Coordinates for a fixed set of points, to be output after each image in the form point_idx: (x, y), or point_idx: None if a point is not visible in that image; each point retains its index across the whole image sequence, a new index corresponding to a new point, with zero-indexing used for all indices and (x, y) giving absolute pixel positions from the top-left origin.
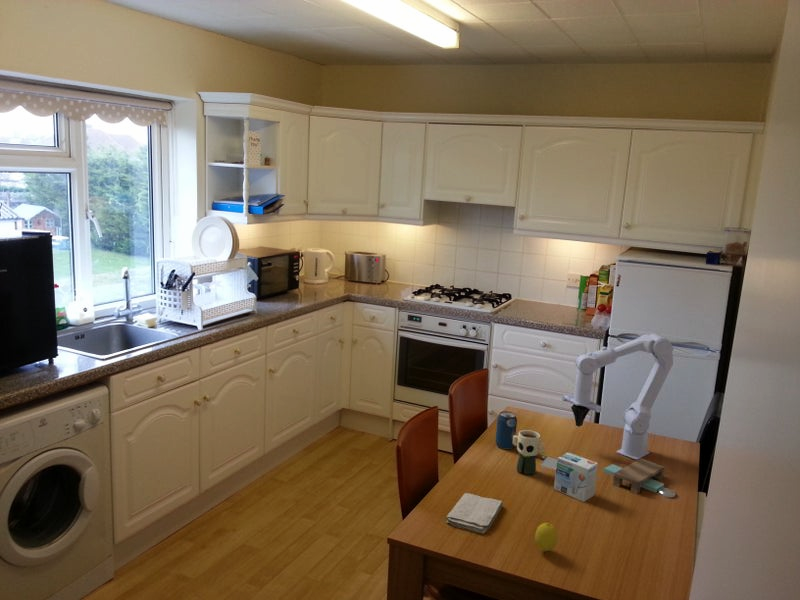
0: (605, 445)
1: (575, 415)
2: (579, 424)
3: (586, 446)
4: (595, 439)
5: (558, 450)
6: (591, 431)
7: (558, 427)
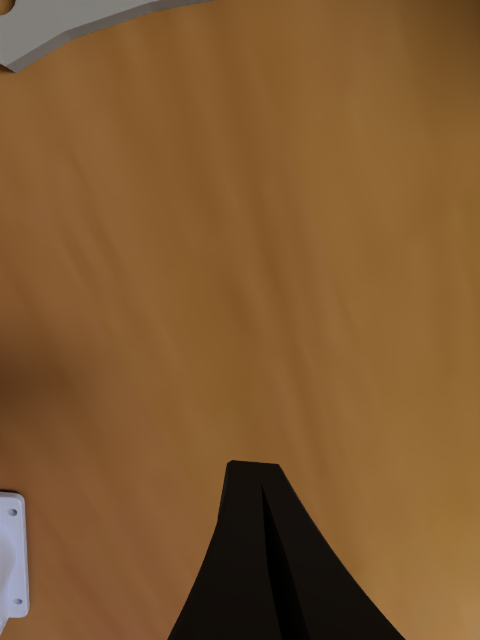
0: (130, 538)
1: (337, 601)
2: (226, 483)
3: (209, 450)
4: None
5: (336, 247)
6: None
7: (451, 566)
